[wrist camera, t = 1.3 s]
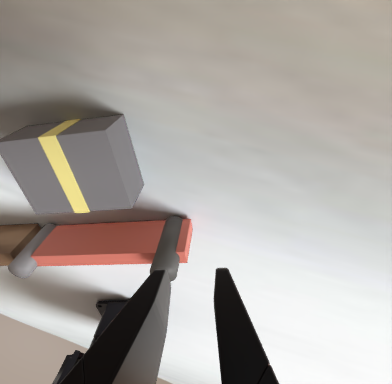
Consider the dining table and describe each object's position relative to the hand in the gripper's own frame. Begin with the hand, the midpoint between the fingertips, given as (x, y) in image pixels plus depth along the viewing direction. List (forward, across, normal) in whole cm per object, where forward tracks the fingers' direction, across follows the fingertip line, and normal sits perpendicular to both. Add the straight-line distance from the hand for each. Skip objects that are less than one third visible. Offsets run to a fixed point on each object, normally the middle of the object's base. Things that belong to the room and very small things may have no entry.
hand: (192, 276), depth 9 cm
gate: (+12, +10, +7) cm, 17 cm away
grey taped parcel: (+12, +10, 0) cm, 16 cm away
